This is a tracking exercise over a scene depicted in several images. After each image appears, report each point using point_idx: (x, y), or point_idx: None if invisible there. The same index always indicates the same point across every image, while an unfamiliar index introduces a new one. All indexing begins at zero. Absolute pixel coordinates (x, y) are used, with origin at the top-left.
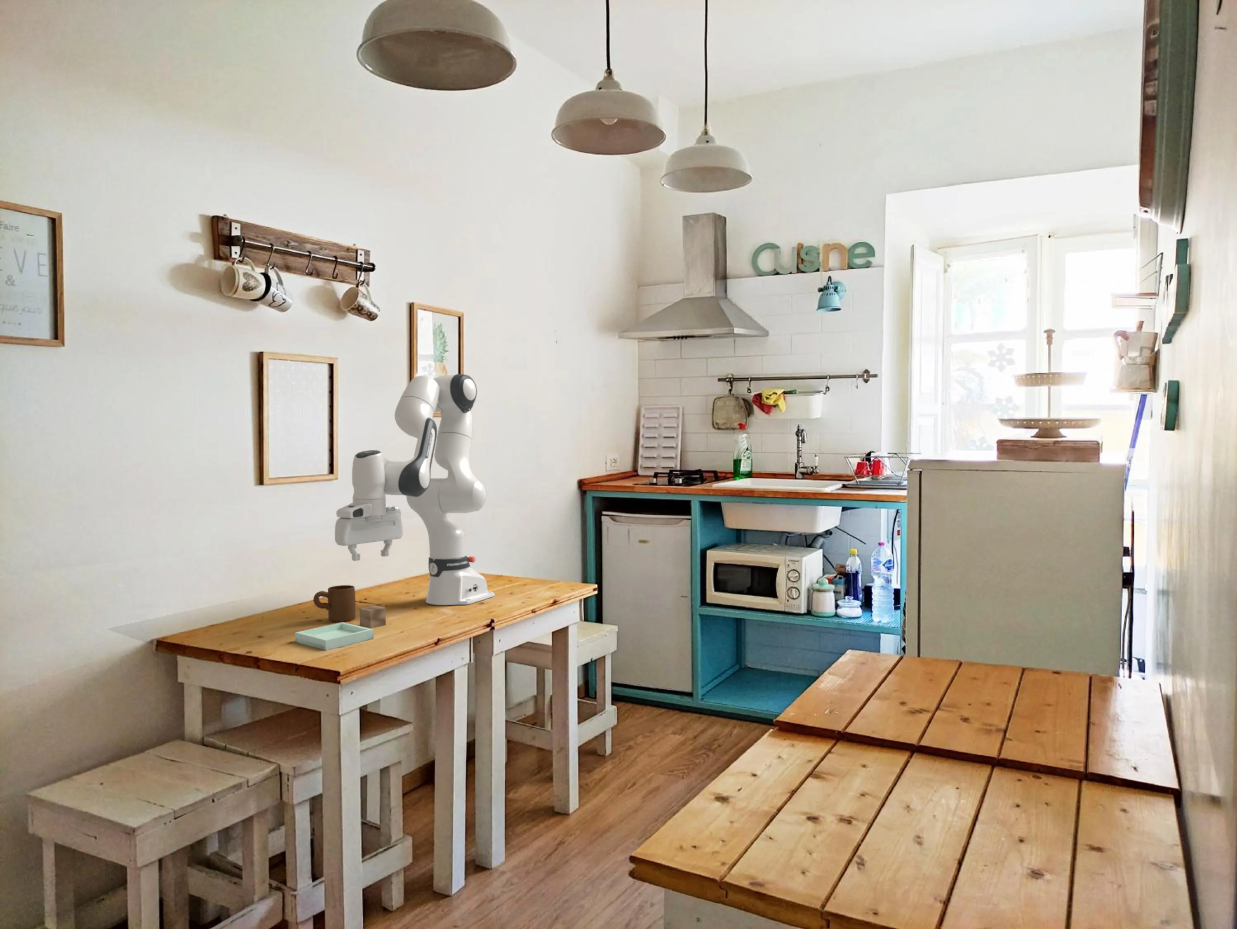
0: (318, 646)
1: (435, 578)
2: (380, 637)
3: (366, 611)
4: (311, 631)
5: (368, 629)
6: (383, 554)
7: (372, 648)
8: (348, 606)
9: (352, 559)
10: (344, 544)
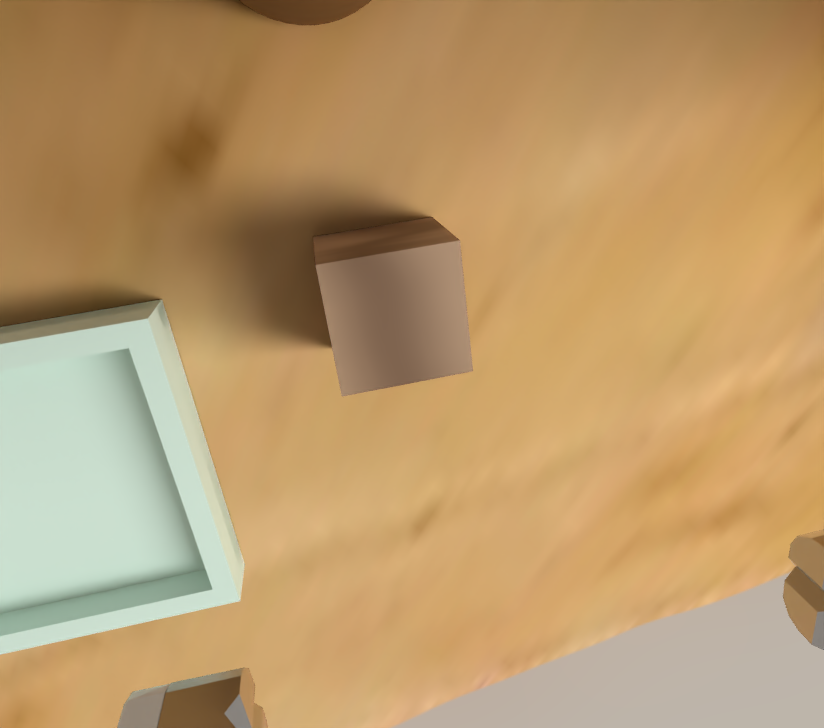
0: None
1: None
2: (285, 556)
3: (333, 348)
4: None
5: (216, 589)
6: (814, 614)
7: None
8: (313, 11)
9: (132, 709)
10: None
